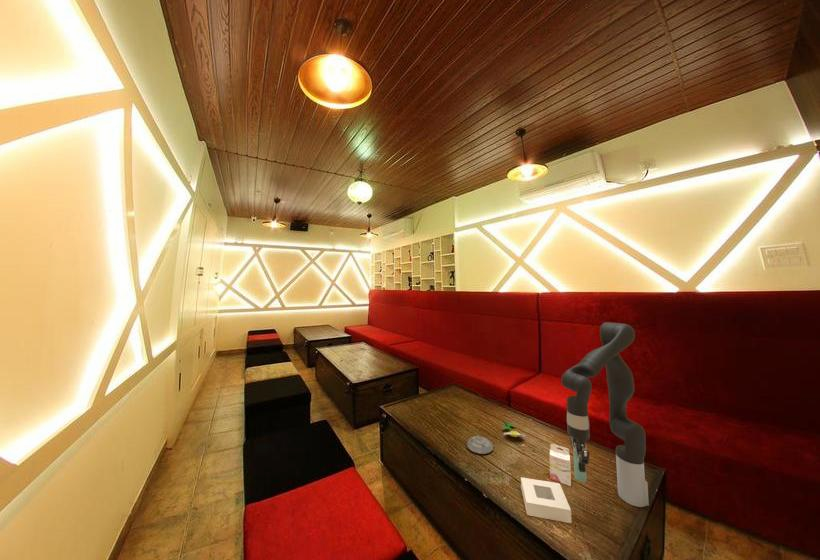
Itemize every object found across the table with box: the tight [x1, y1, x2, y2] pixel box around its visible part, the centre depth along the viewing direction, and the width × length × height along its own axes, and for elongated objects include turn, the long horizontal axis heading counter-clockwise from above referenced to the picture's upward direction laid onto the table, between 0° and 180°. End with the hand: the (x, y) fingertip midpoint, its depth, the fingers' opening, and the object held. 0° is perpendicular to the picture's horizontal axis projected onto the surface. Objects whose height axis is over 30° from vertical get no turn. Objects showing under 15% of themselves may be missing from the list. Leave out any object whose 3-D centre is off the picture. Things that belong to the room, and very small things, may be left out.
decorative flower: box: [502, 418, 527, 438], centre depth 162 cm, size 13×5×30 cm
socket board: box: [520, 476, 572, 524], centre depth 107 cm, size 16×14×5 cm
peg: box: [572, 445, 587, 483], centre depth 102 cm, size 4×4×12 cm
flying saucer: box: [466, 435, 494, 455], centre depth 147 cm, size 15×15×6 cm
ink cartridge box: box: [549, 443, 572, 487], centre depth 121 cm, size 9×5×15 cm, turn 58°
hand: (579, 467), depth 102 cm, fingers closed on peg, 4 cm apart
